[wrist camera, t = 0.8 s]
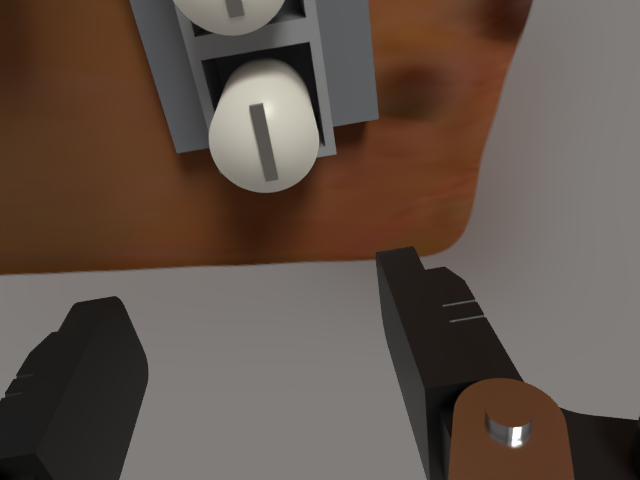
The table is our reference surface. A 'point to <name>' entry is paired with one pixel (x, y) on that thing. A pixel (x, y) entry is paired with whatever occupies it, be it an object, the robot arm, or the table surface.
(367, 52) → the grey compartment box
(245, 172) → the knob
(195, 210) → the table surface
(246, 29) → the knob mid
